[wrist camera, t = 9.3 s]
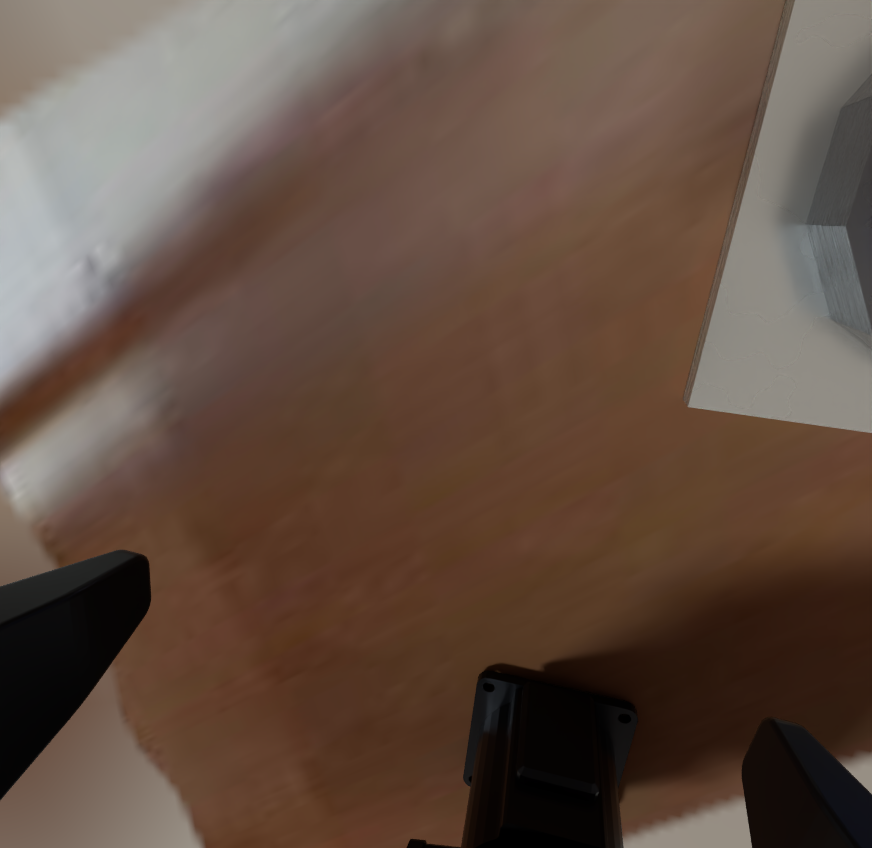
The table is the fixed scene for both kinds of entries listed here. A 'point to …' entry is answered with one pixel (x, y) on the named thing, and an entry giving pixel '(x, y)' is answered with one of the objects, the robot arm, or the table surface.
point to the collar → (799, 236)
